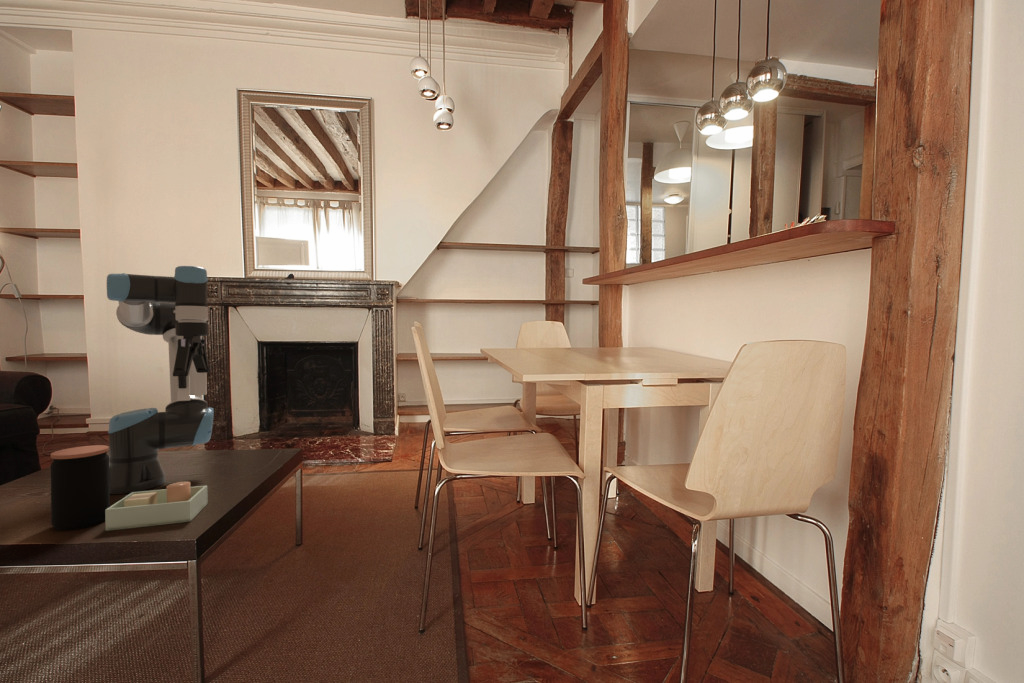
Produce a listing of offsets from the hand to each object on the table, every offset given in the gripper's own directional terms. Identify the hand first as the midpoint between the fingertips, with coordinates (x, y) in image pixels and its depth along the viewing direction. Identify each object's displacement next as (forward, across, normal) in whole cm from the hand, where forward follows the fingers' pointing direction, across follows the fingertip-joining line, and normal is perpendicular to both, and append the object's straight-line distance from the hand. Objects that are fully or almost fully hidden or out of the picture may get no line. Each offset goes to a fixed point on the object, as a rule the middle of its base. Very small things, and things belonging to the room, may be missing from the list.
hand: (193, 397), depth 130 cm
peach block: (+28, +11, 0) cm, 30 cm away
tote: (+29, +12, -4) cm, 31 cm away
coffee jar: (+29, +10, -21) cm, 37 cm away
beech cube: (+28, +12, -8) cm, 31 cm away
